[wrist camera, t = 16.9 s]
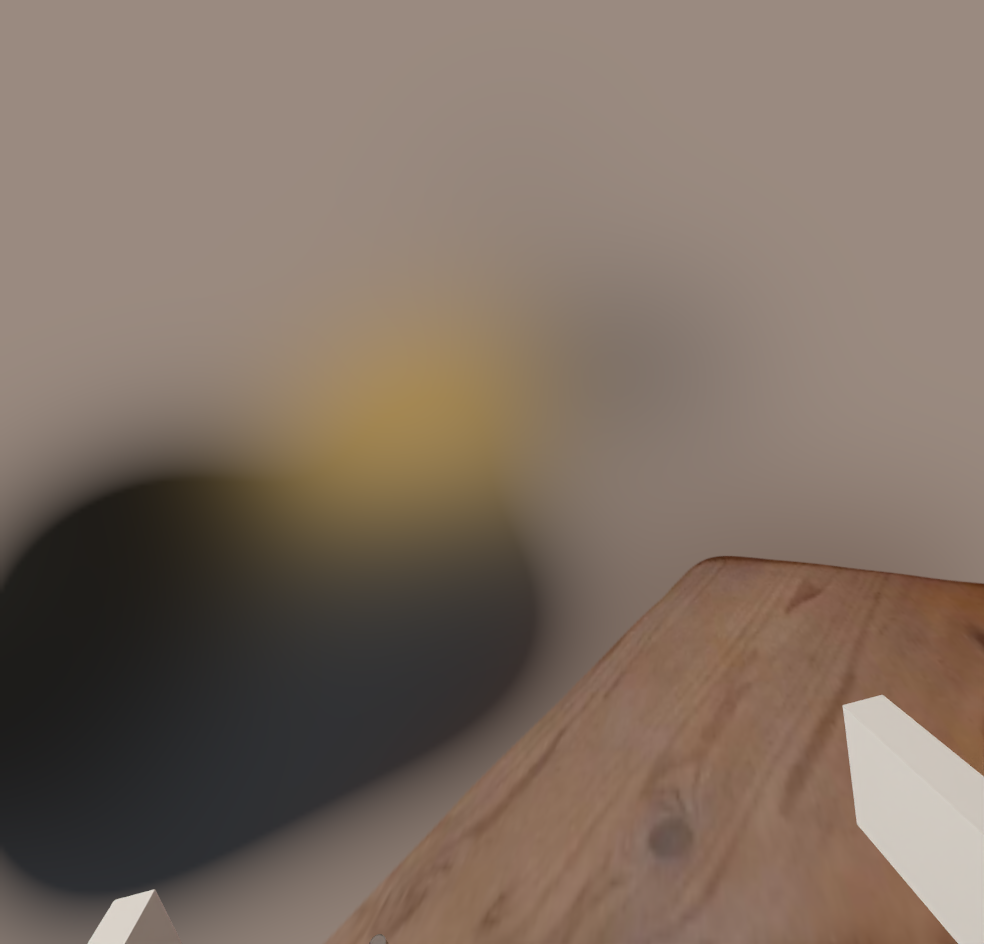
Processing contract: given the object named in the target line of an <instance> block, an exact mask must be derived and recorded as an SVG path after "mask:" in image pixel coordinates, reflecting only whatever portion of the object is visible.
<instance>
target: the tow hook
mask: <svg viewBox="0 0 984 944" xmlns="http://www.w3.org/2000/svg"><path fill="white" fill-rule="evenodd" d="M369 944H388V942H387V940H386V938H385V937H384V936H383V935H381V934H379V935H376V936H374V937H373V938H372V940H371V941H370V943H369Z"/></svg>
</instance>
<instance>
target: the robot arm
mask: <svg viewBox="0 0 984 944" xmlns="http://www.w3.org/2000/svg"><path fill="white" fill-rule="evenodd" d="M843 712H844V720H845V728H846V736H847V745H848V753H849V761H850V770H851V778H852V786H853V795H854V803H855V811H856V819H857V825H858V826H859V827H860V828H861V829H862V830H863V832H864V833H865V834H866V835H867V836H868V838H869V839H870V840H871V841H872V842H873V843H874V845H875V846H876V847H877V848H878V849H879V851H880V852H881V853H882V854H883V855H884V856H885V858H886V859H887V860H888V861H889V862H890V864H891V865H892V866H893V867H894V868H895V869H896V871H897V872H898V873H899V874H900V875H901V877H902V878H903V879H904V880H905V881H906V882H907V884H908V885H909V886H910V887H911V888H912V890H913V891H914V892H915V893H916V894H917V895H918V897H919V898H920V899H921V900H922V901H923V903H924V904H925V905H926V906H927V907H928V909H929V910H930V911H931V912H932V913H933V914H934V916H935V917H936V918H937V919H938V920H939V922H940V923H941V924H942V925H943V926H944V927H945V929H946V930H947V931H948V932H949V933H950V935H951V936H952V937H953V938H954V939H955V940H956V942H957V943H958V944H984V777H983V776H982V775H981V774H980V773H979V772H977V771H976V770H975V769H974V768H972V767H971V766H970V765H969V764H967V763H966V762H965V761H964V760H962V759H961V758H960V757H959V756H958V755H956V754H955V753H954V752H953V751H951V750H950V749H949V748H948V747H946V746H945V745H944V744H943V743H941V742H940V741H939V740H938V739H937V738H935V737H934V736H933V735H932V734H930V733H929V732H928V731H927V730H925V729H924V728H923V727H922V726H920V725H919V724H918V723H917V722H916V721H914V720H913V719H912V718H911V717H909V716H908V715H907V714H906V713H904V712H903V711H902V710H901V709H899V708H898V707H897V706H896V705H895V704H893V703H892V702H891V701H890V700H888V699H887V698H886V697H885V696H883V695H880V696H876V697H872V698H868V699H865V700H861V701H857V702H853V703H850V704H846V705H843ZM88 944H182V942H181V940H180V938H179V936H178V934H177V932H176V930H175V928H174V926H173V924H172V922H171V920H170V918H169V916H168V914H167V912H166V910H165V908H164V906H163V904H162V902H161V900H160V898H159V896H158V894H157V893H156V891H155V890H150V891H147V892H143V893H140V894H135V895H132V896H128V897H124V898H120V899H117V900H114V902H113V903H112V905H111V907H110V908H109V910H108V911H107V913H106V915H105V916H104V918H103V920H102V921H101V923H100V924H99V926H98V928H97V929H96V931H95V932H94V934H93V936H92V937H91V939H90V940H89V942H88Z"/></svg>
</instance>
